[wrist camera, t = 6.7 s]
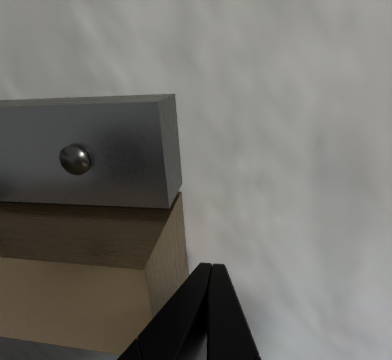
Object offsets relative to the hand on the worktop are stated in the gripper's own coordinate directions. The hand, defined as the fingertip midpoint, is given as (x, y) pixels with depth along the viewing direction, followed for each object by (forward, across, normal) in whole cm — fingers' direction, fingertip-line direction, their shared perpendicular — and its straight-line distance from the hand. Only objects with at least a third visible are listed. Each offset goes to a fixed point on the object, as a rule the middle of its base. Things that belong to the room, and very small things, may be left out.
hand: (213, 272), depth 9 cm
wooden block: (+2, +10, +2) cm, 10 cm away
